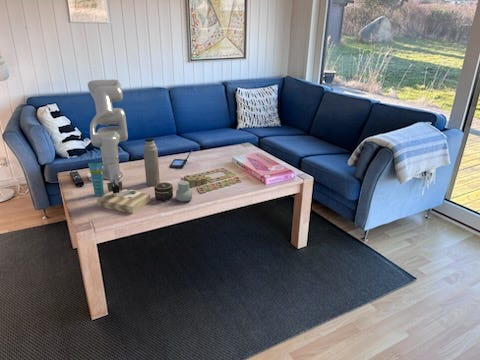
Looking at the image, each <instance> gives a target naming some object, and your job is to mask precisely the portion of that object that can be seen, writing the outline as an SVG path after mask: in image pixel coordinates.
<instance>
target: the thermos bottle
mask: <svg viewBox="0 0 480 360" xmlns="http://www.w3.org/2000/svg"><path fill="white" fill-rule="evenodd" d="M144 141H145V143H144V145H143V162H144V172H145V183H146V185H147V186H149V187H154V186H155V185H156V184H158V183H161V181H160V180H161V179H160V165H159V155H158V154H159V153H158V147H157V144H156V143H155V139H154V138H153V137H147V138H145V139H144Z"/></svg>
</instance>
